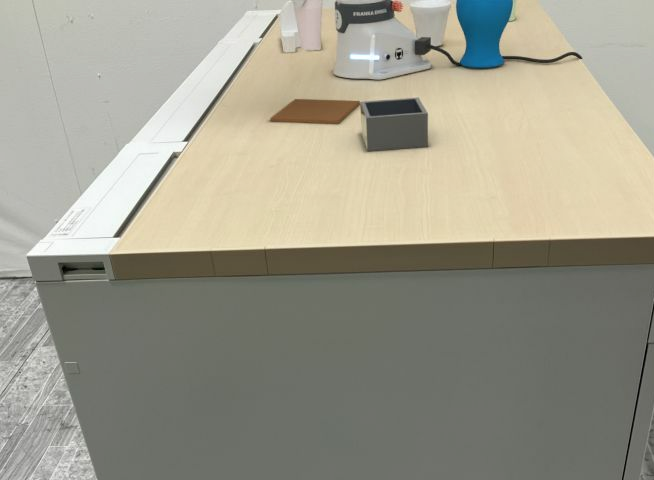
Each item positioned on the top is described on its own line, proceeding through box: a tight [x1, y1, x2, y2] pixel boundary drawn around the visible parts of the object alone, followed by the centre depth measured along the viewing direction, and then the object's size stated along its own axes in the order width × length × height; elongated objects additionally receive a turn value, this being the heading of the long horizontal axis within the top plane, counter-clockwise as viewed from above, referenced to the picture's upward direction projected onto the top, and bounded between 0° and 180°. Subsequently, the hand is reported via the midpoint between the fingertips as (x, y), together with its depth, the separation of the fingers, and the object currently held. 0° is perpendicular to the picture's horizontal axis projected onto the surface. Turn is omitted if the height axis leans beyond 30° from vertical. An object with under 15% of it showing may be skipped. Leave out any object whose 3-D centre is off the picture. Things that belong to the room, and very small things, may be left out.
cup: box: [409, 0, 452, 48], centre depth 203 cm, size 10×10×9 cm
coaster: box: [270, 98, 361, 125], centre depth 164 cm, size 14×14×1 cm
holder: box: [359, 96, 429, 152], centre depth 146 cm, size 11×11×6 cm
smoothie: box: [293, 0, 323, 51], centre depth 152 cm, size 6×6×14 cm
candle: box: [508, 0, 517, 22], centre depth 224 cm, size 5×5×8 cm
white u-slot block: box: [279, 0, 322, 53], centre depth 212 cm, size 10×18×10 cm, turn 6°
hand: (310, 0), depth 151 cm, fingers closed on smoothie, 6 cm apart
